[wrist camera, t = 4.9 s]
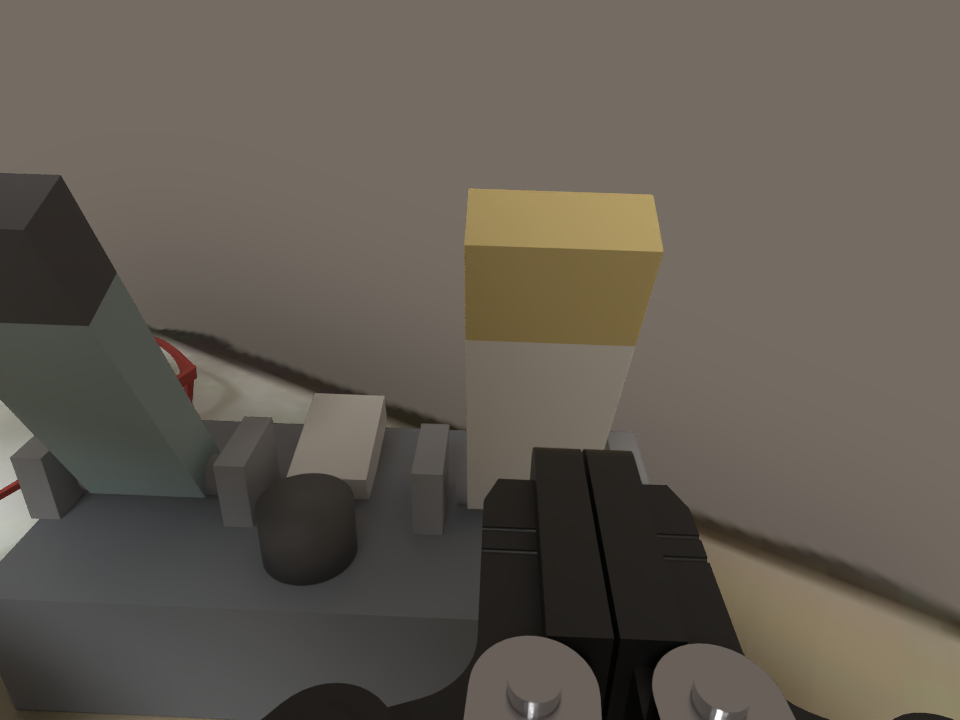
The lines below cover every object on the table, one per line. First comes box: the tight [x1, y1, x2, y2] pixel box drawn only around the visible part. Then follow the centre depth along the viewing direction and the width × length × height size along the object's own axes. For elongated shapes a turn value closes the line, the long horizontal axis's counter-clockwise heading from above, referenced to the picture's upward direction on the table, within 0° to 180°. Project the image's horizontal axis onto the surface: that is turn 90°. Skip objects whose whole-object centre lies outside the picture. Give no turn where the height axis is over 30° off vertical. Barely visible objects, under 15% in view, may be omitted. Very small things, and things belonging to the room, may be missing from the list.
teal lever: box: [0, 173, 220, 498], centre depth 19 cm, size 5×2×13 cm, turn 88°
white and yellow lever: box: [456, 189, 663, 509], centre depth 19 cm, size 5×2×13 cm, turn 88°
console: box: [0, 393, 650, 720], centre depth 25 cm, size 21×10×8 cm, turn 88°
